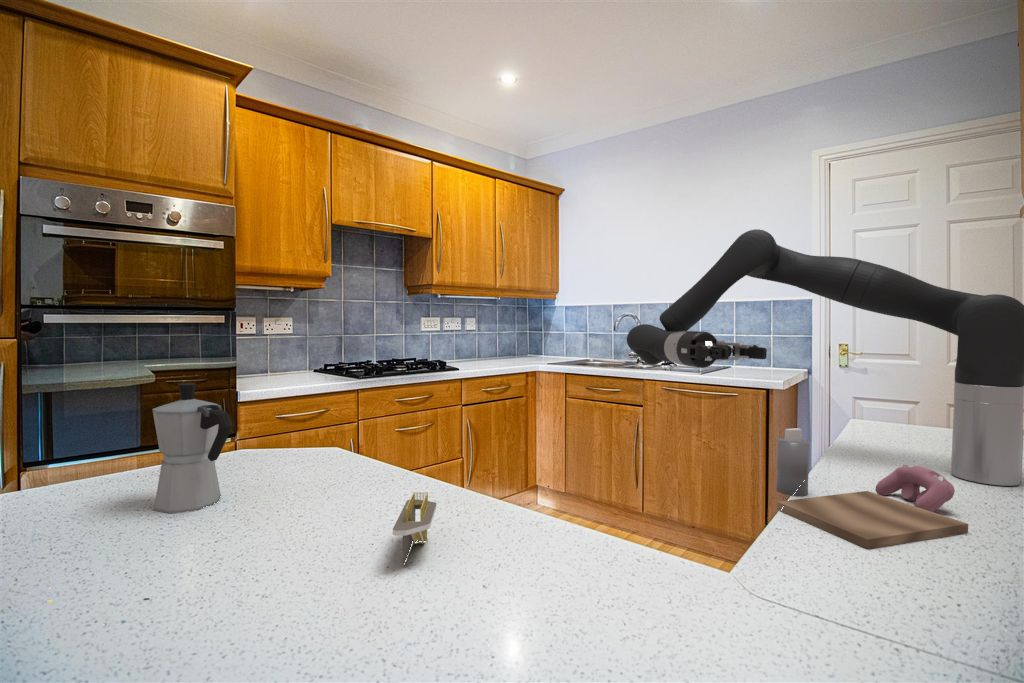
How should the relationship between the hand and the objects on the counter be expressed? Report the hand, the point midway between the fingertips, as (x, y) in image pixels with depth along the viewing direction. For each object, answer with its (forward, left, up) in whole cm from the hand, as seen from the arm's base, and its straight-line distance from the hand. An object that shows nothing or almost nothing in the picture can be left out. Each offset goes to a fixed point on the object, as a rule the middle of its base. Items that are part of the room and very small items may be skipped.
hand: (746, 353), depth 94 cm
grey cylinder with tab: (0, +11, -22) cm, 25 cm away
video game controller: (-14, +21, -22) cm, 34 cm away
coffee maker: (+92, -9, -22) cm, 95 cm away
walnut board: (0, +24, -22) cm, 33 cm away
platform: (+62, +16, -23) cm, 68 cm away
